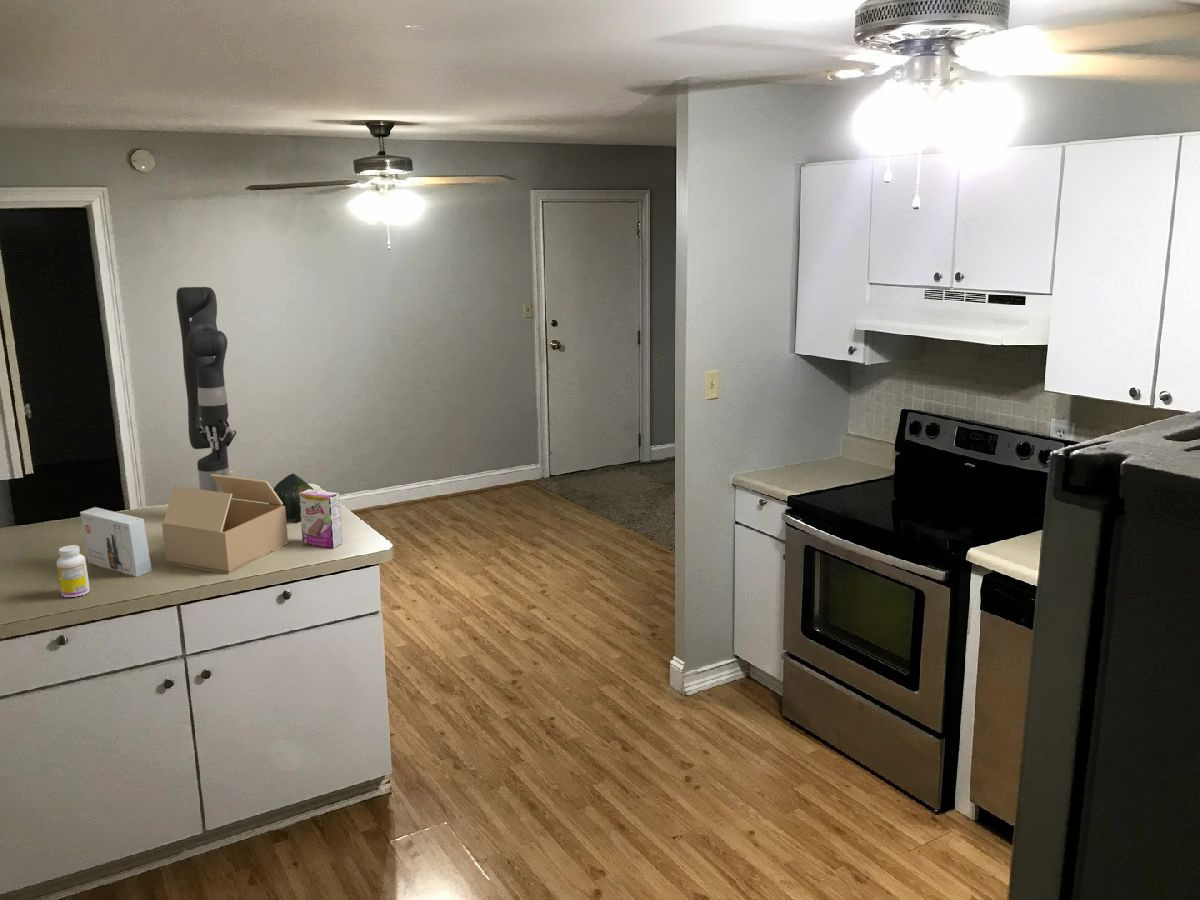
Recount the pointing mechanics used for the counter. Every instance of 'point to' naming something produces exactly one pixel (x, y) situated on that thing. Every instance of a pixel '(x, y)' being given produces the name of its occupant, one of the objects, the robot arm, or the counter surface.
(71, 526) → the counter surface
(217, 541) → the carton
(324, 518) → the candy bar box
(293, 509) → the squash
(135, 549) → the skincare box
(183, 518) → the front flap
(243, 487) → the back flap
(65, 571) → the supplement bottle
